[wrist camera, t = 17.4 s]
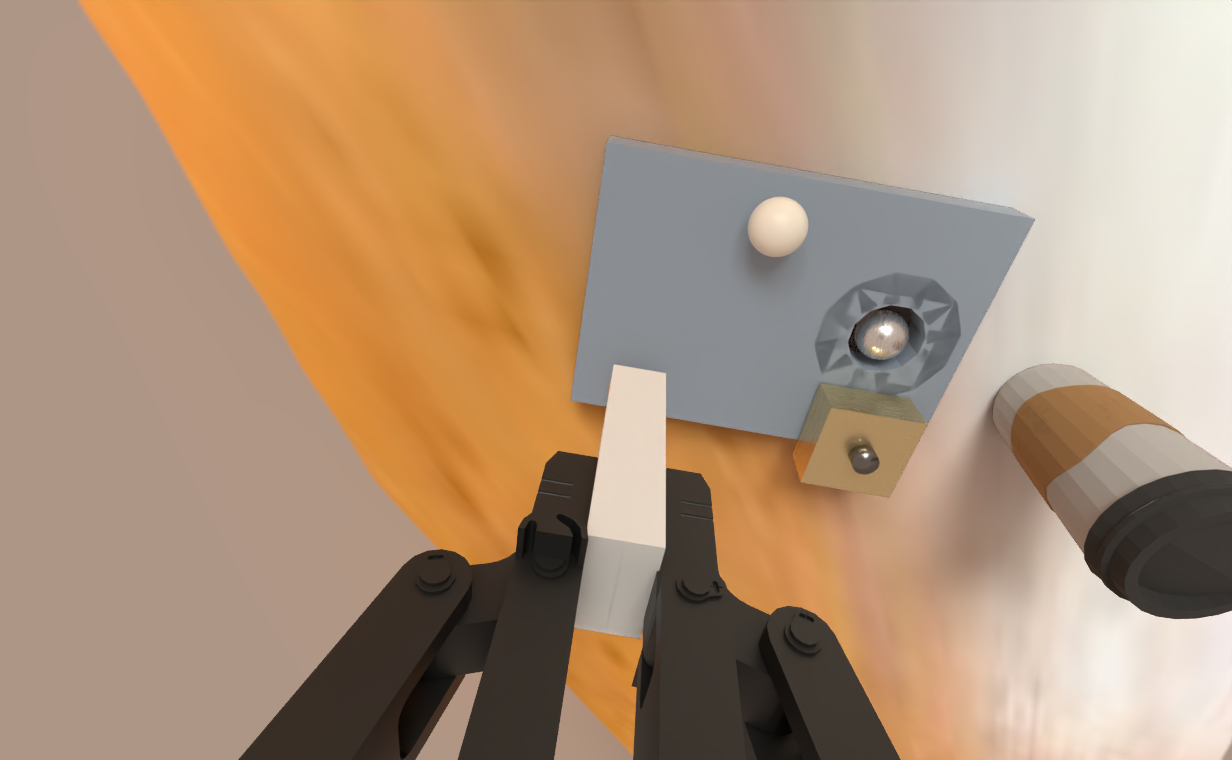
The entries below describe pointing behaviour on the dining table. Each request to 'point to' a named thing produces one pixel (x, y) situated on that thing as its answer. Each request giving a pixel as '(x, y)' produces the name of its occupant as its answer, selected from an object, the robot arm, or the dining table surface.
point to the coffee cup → (1124, 489)
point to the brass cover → (857, 440)
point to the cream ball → (778, 226)
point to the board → (777, 286)
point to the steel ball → (881, 334)
